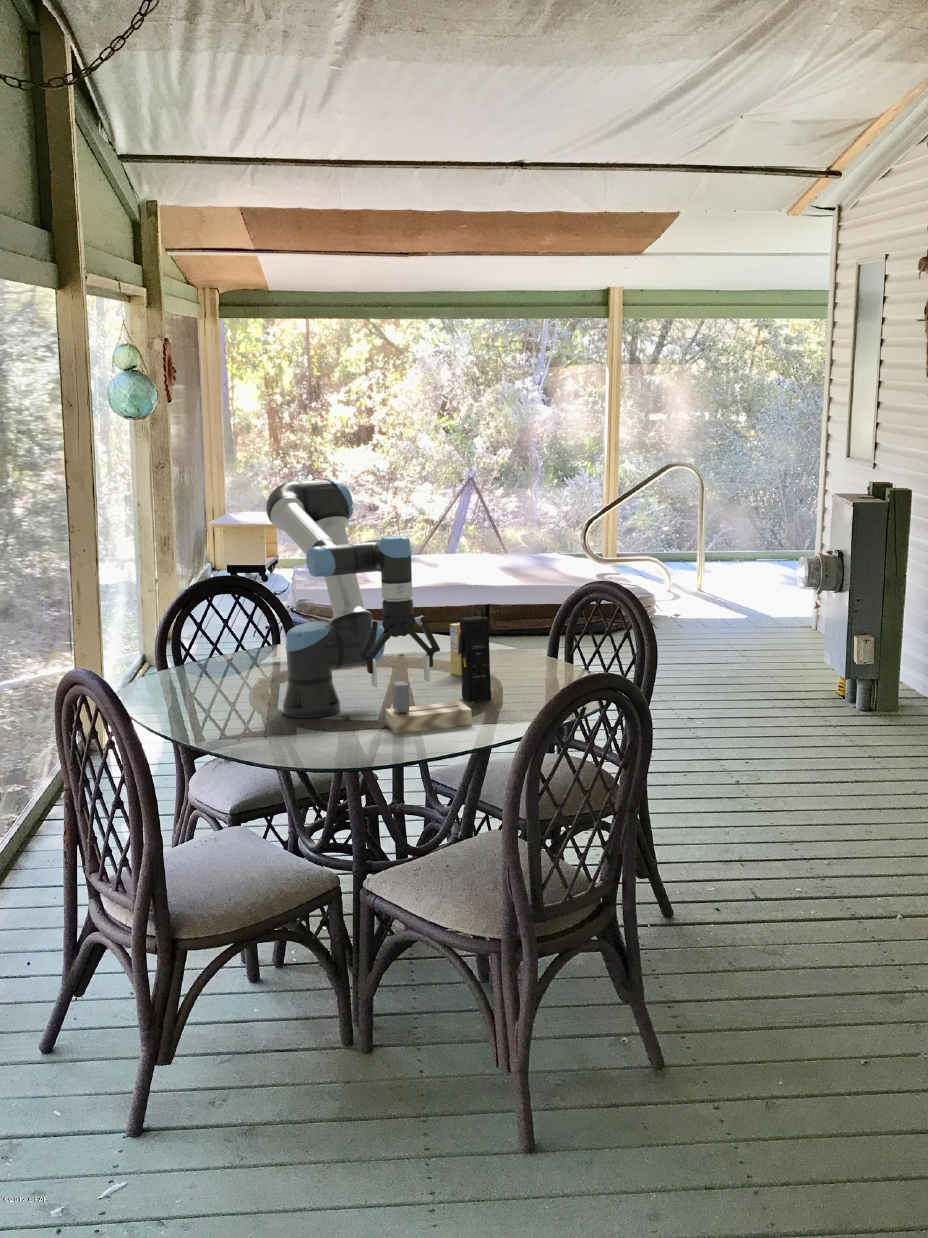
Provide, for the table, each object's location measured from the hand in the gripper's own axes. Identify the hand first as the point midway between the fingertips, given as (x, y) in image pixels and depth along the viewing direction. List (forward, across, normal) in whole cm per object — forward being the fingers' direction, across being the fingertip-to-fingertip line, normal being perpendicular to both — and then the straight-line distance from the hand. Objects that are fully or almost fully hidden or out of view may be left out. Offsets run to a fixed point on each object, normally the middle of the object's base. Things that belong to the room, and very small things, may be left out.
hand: (401, 683), depth 287 cm
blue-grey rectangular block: (+7, 0, 0) cm, 7 cm away
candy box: (+11, +34, +50) cm, 62 cm away
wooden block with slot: (+12, +7, 0) cm, 14 cm away
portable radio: (+12, +26, +20) cm, 34 cm away
